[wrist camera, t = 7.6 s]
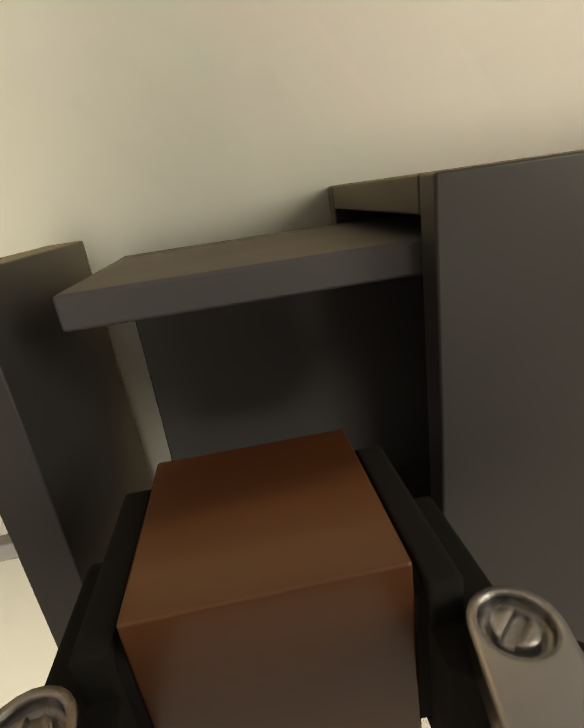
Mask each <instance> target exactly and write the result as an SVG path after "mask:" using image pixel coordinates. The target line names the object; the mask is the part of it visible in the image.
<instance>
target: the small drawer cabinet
mask: <svg viewBox="0 0 584 728" xmlns="http://www.w3.org/2000/svg"><path fill="white" fill-rule="evenodd" d="M328 192H329V202H330V212H331V222H332V225H334V224H340V223H347V222H353V221H360V220H367V219H373V218H380V217H386V216H393V215H400V214H411V215H421V234H422V262H423V289H424V317H425V345H426V372H427V400H428V427H429V455H430V482H431V498H432V500H433V501H434V502H435V503H436V505H437V506H438V508H439V509H440V510H441V512H442V513H443V515H444V516H445V518H446V519H447V521H448V522H449V523H450V525H451V526H452V528H453V529H454V531H455V532H456V534H457V535H458V536H459V538H460V539H461V541H462V542H463V544H464V545H465V546H466V548H467V549H468V551H469V552H470V554H471V555H472V557H473V558H474V559H475V561H476V562H477V564H478V565H479V567H480V568H481V570H482V571H483V572H484V574H485V575H486V577H487V578H488V580H489V581H490V582H491V584H492V585H493V586H497V585H505V586H515V587H519V588H522V589H526V590H529V591H531V592H533V593H535V594H537V595H539V596H541V597H542V598H544V599H545V600H546V601H548V602H549V603H550V604H551V605H553V606H554V607H555V608H556V609H557V610H558V612H559V613H560V614H561V616H562V617H563V618H564V620H565V621H566V623H567V624H568V626H569V628H570V630H571V632H572V633H573V635H574V637H575V639H576V640H578V641H580V642H583V643H584V150H577V151H570V152H563V153H557V154H550V155H543V156H536V157H529V158H522V159H515V160H508V161H501V162H494V163H487V164H481V165H474V166H467V167H460V168H453V169H446V170H439V171H432V172H425V173H418V174H412V175H405V176H398V177H391V178H384V179H377V180H370V181H363V182H356V183H349V184H343V185H336V186H330V187H328Z"/></svg>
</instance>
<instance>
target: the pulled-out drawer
mask: <svg viewBox="0 0 584 728" xmlns="http://www.w3.org/2000/svg"><path fill="white" fill-rule="evenodd" d="M133 321H136V324H137V328H138V332H139V336H140V339H141V343H142V347H143V351H144V355H145V359H146V362H147V366H148V370H149V374H150V378H151V381H152V385H153V389H154V393H155V397H156V401H157V404H158V408H159V412H160V416H161V420H162V423H163V427H164V431H165V435H166V439H167V443H168V446H169V450H170V454H171V458H172V461H175V460H180V459H186V458H191V457H196V456H201V455H207V454H212V453H217V452H223V451H228V450H233V449H239V448H244V447H249V446H255V445H260V444H265V443H270V442H276V441H281V440H286V439H292V438H297V437H302V436H308V435H313V434H318V433H323V432H329V431H334V430H339V429H343V430H344V432H345V434H346V436H347V438H348V440H349V442H350V444H351V446H352V448H353V449H354V451H355V450H358V449H363V448H368V447H373V446H380V447H381V448H382V450H383V451H384V453H385V454H386V456H387V458H388V459H389V461H390V462H391V464H392V465H393V467H394V469H395V470H396V472H397V473H398V475H399V477H400V478H401V480H402V481H403V483H404V485H405V486H406V488H407V489H408V491H409V492H410V494H411V496H412V497H413V499H414V498H419V497H424V496H429V497H431V482H430V455H429V427H428V400H427V372H426V345H425V317H424V289H423V262H422V234H421V215H411V214H400V215H393V216H386V217H380V218H373V219H367V220H360V221H353V222H347V223H340V224H334V225H327V226H320V227H314V228H307V229H301V230H294V231H287V232H281V233H274V234H268V235H261V236H255V237H248V238H241V239H235V240H228V241H222V242H215V243H208V244H202V245H195V246H189V247H182V248H175V249H169V250H162V251H156V252H149V253H142V254H136V255H129V256H124V257H123V258H121V259H120V260H118V261H116V262H115V263H113V264H111V265H109V266H107V267H106V268H104V269H102V270H100V271H98V272H97V273H95V274H93V275H92V273H91V269H90V266H89V262H88V259H87V255H86V252H85V248H84V245H83V242H82V241H78V242H71V243H64V244H57V245H51V246H46V247H42V248H38V249H34V250H30V251H26V252H22V253H18V254H14V255H10V256H6V257H2V258H0V515H1V518H2V520H3V522H4V524H5V527H6V529H7V531H8V534H6V535H1V536H0V561H5V560H10V559H15V558H19V559H20V561H21V564H22V566H23V568H24V571H25V573H26V575H27V578H28V580H29V582H30V584H31V587H32V589H33V591H34V594H35V596H36V598H37V601H38V603H39V605H40V608H41V610H42V612H43V614H44V617H45V619H46V621H47V624H48V626H49V628H50V631H51V633H52V635H53V638H54V640H55V642H56V644H57V647H58V649H59V646H60V643H61V641H62V638H63V635H64V633H65V630H66V627H67V625H68V622H69V619H70V617H71V614H72V611H73V609H74V606H75V603H76V601H77V598H78V595H79V593H80V590H81V587H82V585H83V582H84V579H85V577H86V574H87V572H88V570H89V568H90V566H92V565H93V564H95V563H100V562H103V560H104V557H105V554H106V551H107V548H108V545H109V543H110V540H111V537H112V534H113V531H114V528H115V525H116V522H117V519H118V516H119V513H120V510H121V507H122V504H123V501H124V499H125V496H126V495H127V494H129V493H134V492H140V491H145V490H150V489H152V483H151V479H150V476H149V472H148V469H147V465H146V462H145V458H144V455H143V451H142V448H141V444H140V441H139V437H138V434H137V430H136V427H135V423H134V420H133V416H132V413H131V409H130V406H129V402H128V399H127V395H126V392H125V388H124V385H123V381H122V378H121V374H120V371H119V367H118V364H117V360H116V357H115V353H114V350H113V346H112V343H111V339H110V336H109V332H108V329H107V326H108V325H115V324H121V323H127V322H133Z"/></svg>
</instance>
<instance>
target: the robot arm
mask: <svg viewBox="0 0 584 728" xmlns="http://www.w3.org/2000/svg"><path fill="white" fill-rule="evenodd" d="M355 453H356V455H357V457H358V459H359V461H360V463H361V465H362V467H363V469H364V471H365V473H366V475H367V477H368V478H369V480H370V482H371V484H372V486H373V488H374V490H375V492H376V494H377V496H378V498H379V500H380V502H381V504H382V506H383V508H384V509H385V511H386V513H387V515H388V517H389V519H390V521H391V523H392V525H393V527H394V529H395V531H396V533H397V535H398V537H399V539H400V540H401V542H402V544H403V546H404V548H405V550H406V552H407V554H408V556H409V558H410V560H411V562H412V571H413V588H414V607H415V625H416V642H417V659H418V676H419V694H420V711H421V718H425V717H427V718H428V721H429V723H430V726H431V728H584V643H583V642H580V641H578V640H576V639H575V637H574V635H573V633H572V632H571V630H570V628H569V626H568V624H567V623H566V621H565V620H564V618H563V617H562V616H561V614H560V613H559V612H558V610H557V609H556V608H555V607H554V606H553V605H551V604H550V603H549V602H548V601H546V600H545V599H544V598H542V597H541V596H539V595H537V594H535V593H533V592H531V591H529V590H526V589H522V588H519V587H515V586H505V585H497V586H493V585H492V584H491V582H490V581H489V580H488V578H487V577H486V575H485V574H484V572H483V571H482V570H481V568H480V567H479V565H478V564H477V562H476V561H475V559H474V558H473V557H472V555H471V554H470V552H469V551H468V549H467V548H466V546H465V545H464V544H463V542H462V541H461V539H460V538H459V536H458V535H457V534H456V532H455V531H454V529H453V528H452V526H451V525H450V523H449V522H448V521H447V519H446V518H445V516H444V515H443V513H442V512H441V510H440V509H439V508H438V506H437V505H436V503H435V502H434V501H433V500H432V498H431V497H429V496H424V497H419V498H414V499H413V497H412V496H411V494H410V492H409V491H408V489H407V488H406V486H405V485H404V483H403V481H402V480H401V478H400V477H399V475H398V473H397V472H396V470H395V469H394V467H393V465H392V464H391V462H390V461H389V459H388V458H387V456H386V454H385V453H384V451H383V450H382V448H381V447H380V446H373V447H368V448H363V449H358V450H355ZM150 493H151V489H150V490H145V491H140V492H134V493H129V494H127V495H126V496H125V499H124V501H123V504H122V507H121V510H120V513H119V516H118V519H117V522H116V525H115V528H114V531H113V534H112V537H111V540H110V543H109V545H108V548H107V551H106V554H105V557H104V560H103V562H100V563H95V564H93V565H92V566H90V568H89V570H88V572H87V574H86V577H85V579H84V582H83V585H82V587H81V590H80V593H79V595H78V598H77V601H76V603H75V606H74V609H73V611H72V614H71V617H70V619H69V622H68V625H67V627H66V630H65V633H64V635H63V638H62V641H61V643H60V646H59V649H58V651H57V654H56V657H55V659H54V662H53V665H52V667H51V670H50V673H49V675H48V678H47V681H46V683H45V686H42V687H38V688H34V689H31V690H29V691H27V692H25V693H23V694H21V695H19V696H17V697H16V698H14V699H13V700H12V701H10V702H9V703H7V704H6V705H5V706H3V707H2V708H1V709H0V728H153V727H152V724H151V722H150V719H149V716H148V713H147V711H146V708H145V705H144V702H143V700H142V697H141V694H140V691H139V688H138V686H137V683H136V680H135V677H134V675H133V672H132V669H131V666H130V664H129V661H128V658H127V655H126V653H125V650H124V647H123V644H122V642H121V639H120V636H119V633H118V631H117V627H116V625H117V621H118V617H119V613H120V609H121V606H122V602H123V598H124V594H125V590H126V586H127V582H128V578H129V575H130V571H131V567H132V563H133V559H134V555H135V551H136V547H137V544H138V540H139V536H140V532H141V528H142V524H143V520H144V516H145V513H146V509H147V505H148V501H149V497H150Z"/></svg>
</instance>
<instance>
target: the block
mask: <svg viewBox="0 0 584 728" xmlns="http://www.w3.org/2000/svg"><path fill="white" fill-rule="evenodd" d="M116 627H117V631H118V633H119V636H120V639H121V642H122V644H123V647H124V650H125V653H126V655H127V658H128V661H129V664H130V666H131V669H132V672H133V675H134V677H135V680H136V683H137V686H138V688H139V691H140V694H141V697H142V700H143V702H144V705H145V708H146V711H147V713H148V716H149V719H150V722H151V724H152V727H153V728H422V727H421V711H420V694H419V676H418V659H417V642H416V625H415V607H414V588H413V571H412V562H411V560H410V558H409V556H408V554H407V552H406V550H405V548H404V546H403V544H402V542H401V540H400V539H399V537H398V535H397V533H396V531H395V529H394V527H393V525H392V523H391V521H390V519H389V517H388V515H387V513H386V511H385V509H384V508H383V506H382V504H381V502H380V500H379V498H378V496H377V494H376V492H375V490H374V488H373V486H372V484H371V482H370V480H369V478H368V477H367V475H366V473H365V471H364V469H363V467H362V465H361V463H360V461H359V459H358V457H357V455H356V453H355V451H354V449H353V448H352V446H351V444H350V442H349V440H348V438H347V436H346V434H345V432H344V430H343V429H339V430H334V431H329V432H323V433H318V434H313V435H308V436H302V437H297V438H292V439H286V440H281V441H276V442H270V443H265V444H260V445H255V446H249V447H244V448H239V449H233V450H228V451H223V452H217V453H212V454H207V455H201V456H196V457H191V458H186V459H180V460H175V461H170V462H164V463H160V464H158V466H157V470H156V474H155V478H154V482H153V486H152V489H151V493H150V497H149V501H148V505H147V509H146V513H145V516H144V520H143V524H142V528H141V532H140V536H139V540H138V544H137V547H136V551H135V555H134V559H133V563H132V567H131V571H130V575H129V578H128V582H127V586H126V590H125V594H124V598H123V602H122V606H121V609H120V613H119V617H118V621H117V625H116Z"/></svg>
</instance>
